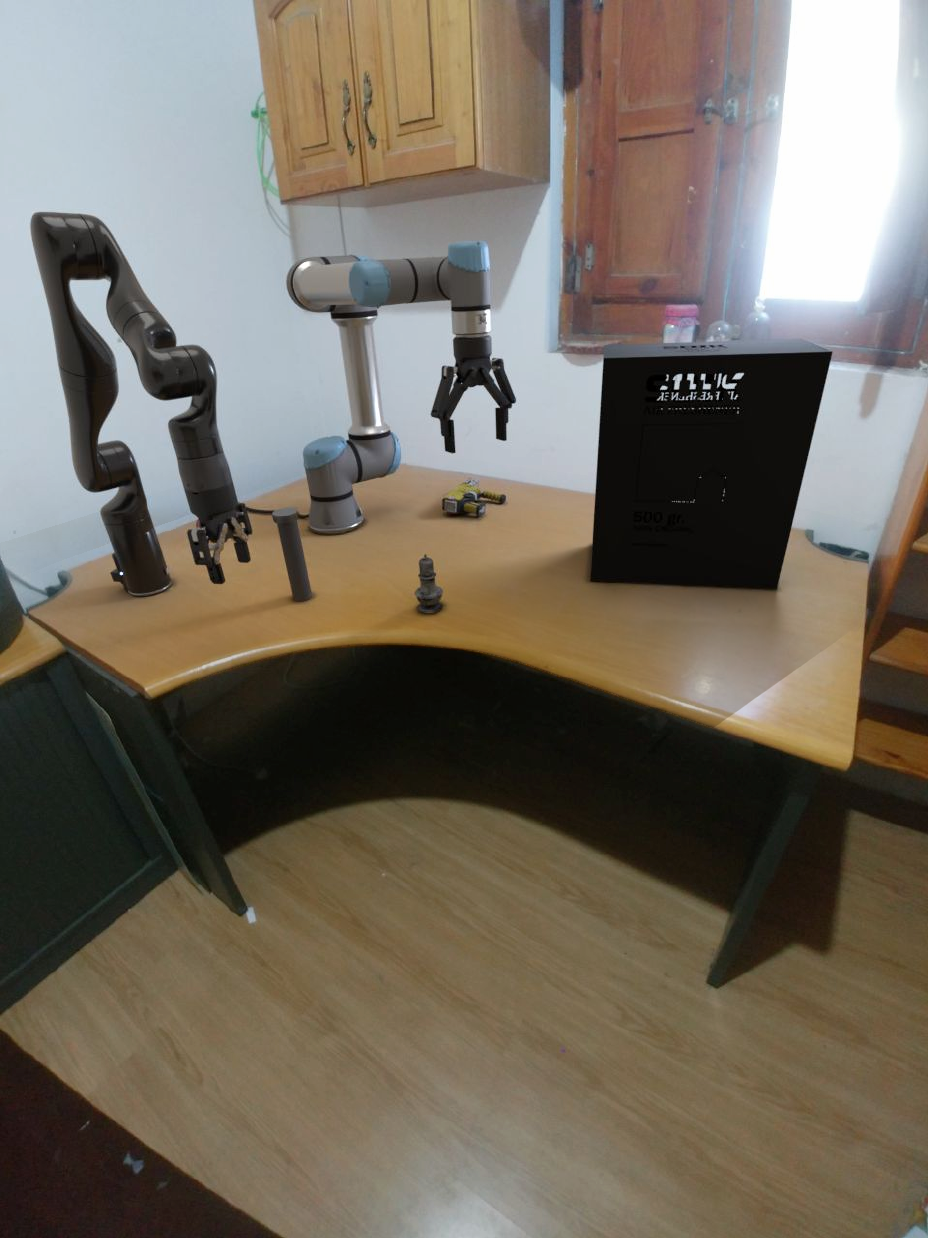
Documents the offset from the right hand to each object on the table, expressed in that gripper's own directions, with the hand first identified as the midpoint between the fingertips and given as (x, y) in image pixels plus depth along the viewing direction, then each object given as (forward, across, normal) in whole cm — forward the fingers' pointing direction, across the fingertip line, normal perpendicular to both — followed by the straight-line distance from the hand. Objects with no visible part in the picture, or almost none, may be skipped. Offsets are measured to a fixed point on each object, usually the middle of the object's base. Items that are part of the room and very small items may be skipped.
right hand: (476, 445), depth 127 cm
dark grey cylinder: (+28, -39, +14) cm, 50 cm away
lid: (+9, -39, +14) cm, 42 cm away
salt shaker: (+28, -20, -9) cm, 36 cm away
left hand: (+11, -55, -1) cm, 56 cm away
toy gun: (+28, +26, +34) cm, 51 cm away
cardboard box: (+28, +33, -30) cm, 52 cm away
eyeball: (+28, -43, +66) cm, 84 cm away
